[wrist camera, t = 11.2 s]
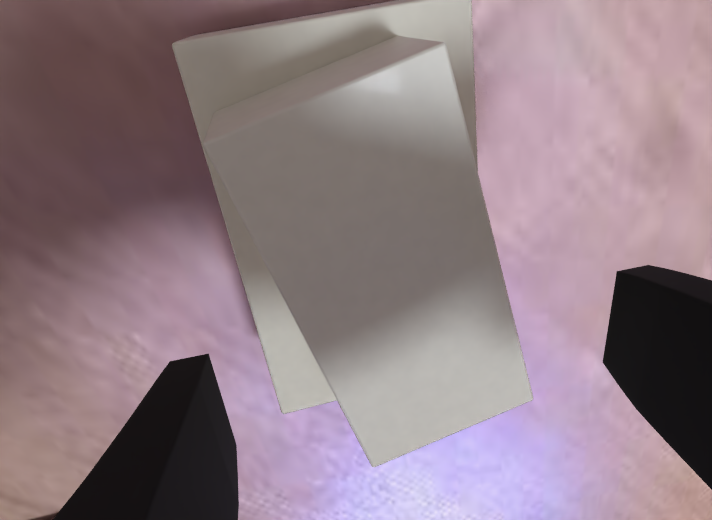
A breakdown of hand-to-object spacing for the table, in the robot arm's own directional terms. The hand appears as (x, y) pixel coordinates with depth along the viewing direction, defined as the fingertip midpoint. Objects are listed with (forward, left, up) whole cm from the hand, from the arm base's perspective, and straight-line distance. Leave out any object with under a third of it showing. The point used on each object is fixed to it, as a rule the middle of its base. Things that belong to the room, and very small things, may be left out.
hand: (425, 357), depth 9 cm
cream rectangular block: (0, 0, -5) cm, 5 cm away
